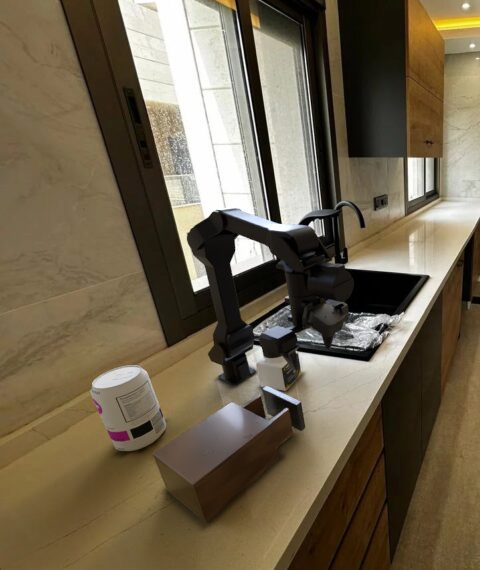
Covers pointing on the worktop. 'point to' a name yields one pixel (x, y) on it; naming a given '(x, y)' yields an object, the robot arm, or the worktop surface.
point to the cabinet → (217, 459)
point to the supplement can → (128, 407)
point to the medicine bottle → (276, 371)
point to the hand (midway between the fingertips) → (312, 358)
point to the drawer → (278, 412)
